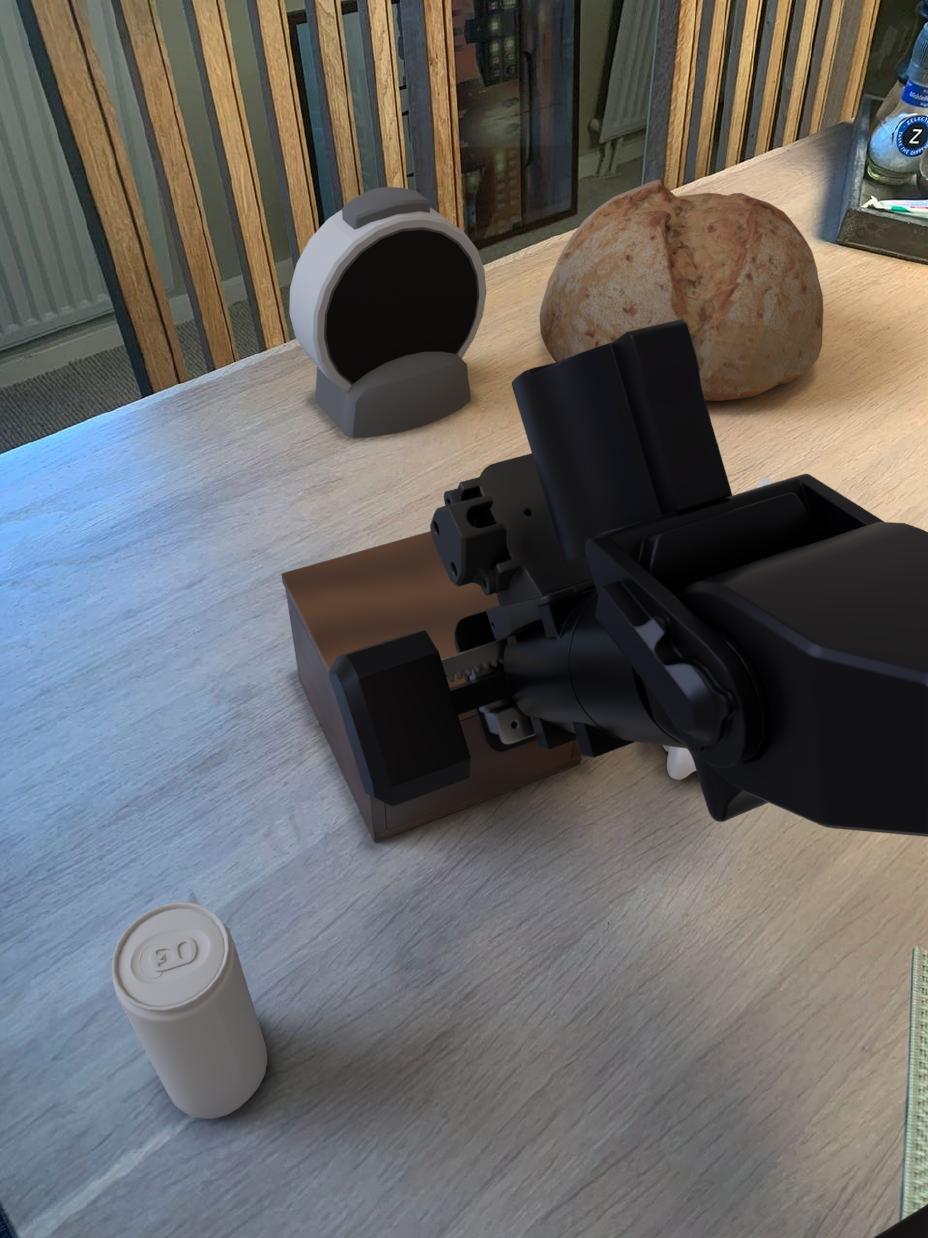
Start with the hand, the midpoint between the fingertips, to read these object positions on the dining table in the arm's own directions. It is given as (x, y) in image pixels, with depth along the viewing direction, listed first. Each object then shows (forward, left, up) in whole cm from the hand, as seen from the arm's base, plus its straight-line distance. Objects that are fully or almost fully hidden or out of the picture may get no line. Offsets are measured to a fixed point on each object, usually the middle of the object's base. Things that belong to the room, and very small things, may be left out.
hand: (493, 664), depth 50 cm
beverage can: (-18, +8, -13) cm, 24 cm away
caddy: (+5, +5, -13) cm, 15 cm away
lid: (+6, +5, -4) cm, 9 cm away
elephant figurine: (+8, -11, -13) cm, 19 cm away
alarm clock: (+40, +20, -13) cm, 46 cm away
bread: (+56, -3, -13) cm, 57 cm away
